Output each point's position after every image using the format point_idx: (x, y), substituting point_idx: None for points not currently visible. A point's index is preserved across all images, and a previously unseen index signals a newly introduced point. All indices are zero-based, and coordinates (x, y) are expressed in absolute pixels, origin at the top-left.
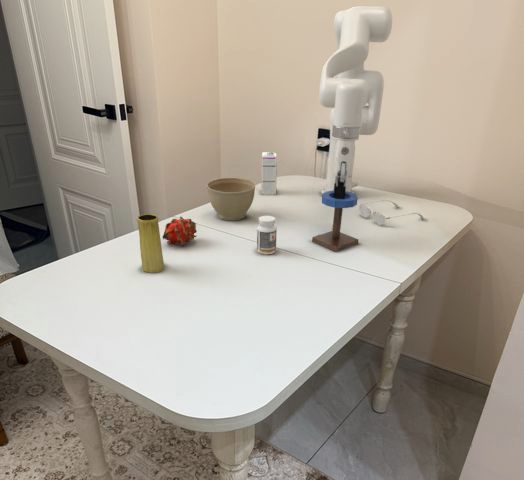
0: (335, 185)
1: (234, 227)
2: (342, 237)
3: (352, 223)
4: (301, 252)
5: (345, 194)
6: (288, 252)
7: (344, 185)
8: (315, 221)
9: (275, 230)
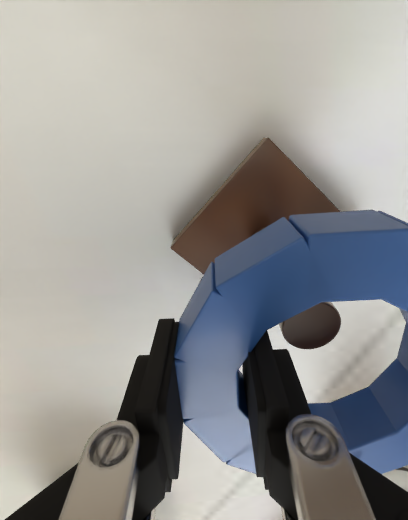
0: (177, 463)
1: (186, 487)
2: (253, 213)
3: (8, 163)
4: (356, 335)
5: (256, 336)
6: (356, 367)
7: (342, 450)
8: (54, 311)
9: (404, 471)
